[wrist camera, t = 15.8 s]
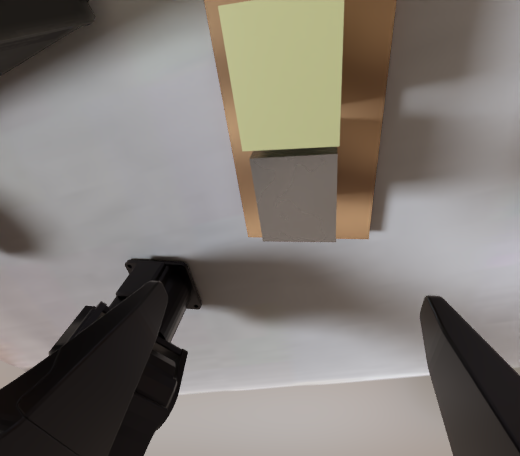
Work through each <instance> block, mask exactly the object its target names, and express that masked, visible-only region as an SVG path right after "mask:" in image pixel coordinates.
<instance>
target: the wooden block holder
mask: <svg viewBox="0 0 520 456" xmlns="http://www.w3.org/2000/svg"><path fill="white" fill-rule="evenodd" d="M245 1H251V0H204V3H205V9H206V14H207V19H208V25H209V30H210V35H211V41H212V46H213V51H214V56H215V62H216V67H217V72H218V78H219V83H220V88H221V94H222V99H223V104H224V110H225V115H226V120H227V126H228V131H229V136H230V142H231V147H232V152H233V158H234V163H235V168H236V174H237V179H238V184H239V190H240V195H241V200H242V206H243V211H244V216H245V222H246V227H247V232H248V237H262V232H261V226H260V220H259V214H258V208H257V202H256V196H255V190H254V184H253V178H252V172H251V166H250V160H249V158H250V156H251V154H252V152H253V151H242V146H241V140H240V134H239V128H238V122H237V116H236V110H235V104H234V98H233V93H232V87H231V81H230V75H229V69H228V63H227V57H226V51H225V45H224V39H223V33H222V27H221V21H220V16H219V10H218V6H221V5H227V4H233V3H239V2H245ZM396 1H397V0H344V26H343V56H342V86H341V116H340V146H338V147H337V152H338V159H337V208H336V239H368V238H369V230H370V221H371V213H372V204H373V196H374V187H375V179H376V170H377V162H378V154H379V145H380V137H381V128H382V120H383V111H384V103H385V94H386V86H387V77H388V69H389V60H390V52H391V43H392V35H393V26H394V18H395V9H396Z"/></svg>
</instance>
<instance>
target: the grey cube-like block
mask: <svg viewBox="0 0 520 456" xmlns="http://www.w3.org/2000/svg"><path fill="white" fill-rule="evenodd" d="M337 159H338V152H337V147H318V148H299V149H280V150H260V151H253V152H252V154H251V156H250V158H249V160H250V166H251V172H252V178H253V184H254V190H255V196H256V202H257V208H258V214H259V220H260V226H261V232H262V238H263V241H284V242H336V208H337Z"/></svg>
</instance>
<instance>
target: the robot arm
mask: <svg viewBox="0 0 520 456" xmlns="http://www.w3.org/2000/svg"><path fill="white" fill-rule="evenodd" d="M125 267H126V268H127V270H128V272H129V276H128V277H127V278H126V280H125V281H124V283H123V284H122V285H121V287H120V288H119V290H118V291H117V292H116V298H115V299H114V301H113V302H112V303H111V305H110V306H109V307H108V306H106V305H107V304H105V303H103V302H100V303H99V304H98V306H97V307H95V306H85V307H84V308H83V310H82V311H81V312H80V314H79V315H78V316H77V317H76V319H75V320H74V321H73V322H72V324H71V325H70V326H69V327H68V329H67V330H66V331H65V332H64V334H63V335H62V336H61V337H60V339H59V340H58V341H57V343H56V344H55V345H54V346H53V348H52V349H51V350H50V351H49V356H48V357H47V358H45V359H44V360H43V361H41V362H40V363H38V364H37V365H36V366H34V367H33V368H32V369H30V370H29V371H27V372H26V373H24V374H23V375H21V376H20V377H18V378H17V379H16V380H14V381H13V382H11V383H9V384H8V385H6V386H5V387H3V388H2V389H0V456H144V454H145V451H146V449H147V447H148V445H149V442H150V440H151V438H152V436H153V434H154V432H155V431H156V430H158V429H159V428H160V427H161V426H162V424H163V423H164V422H165V420H166V419H167V417H168V416H169V414H170V412H171V411H172V409H173V407H174V404H175V402H176V399H177V397H178V393H179V389H180V385H181V380H182V376H183V371H184V367H185V362H186V358H187V354H188V351H186V350H184V349H180V348H179V347H177V346H175V345H173V344H172V343H171V340H172V338H173V336H174V334H175V332H176V330H177V327H178V325H179V323H180V321H181V319H182V317H183V314H184V312H185V310H186V309H200V308H201V305H202V303H201V300H200V298H199V295H198V292H197V290H196V287H195V284H194V281H193V279H192V276H191V273H190V271H189V268H188V265H187V264H186V263H184V262H175V261H148V260H128V261H127V262H126V263H125ZM420 321H421V327H422V334H423V340H424V346H425V352H426V358H427V364H428V369H429V372H430V376H431V380H432V383H433V387H434V390H435V394H436V397H437V400H438V404H439V408H440V411H441V415H442V418H443V422H444V425H445V428H446V432H447V435H448V439H449V442H450V446H451V449H452V452H453V456H520V376H519V375H518V373H517V372H516V371H515V370H514V369H513V368H512V367H511V366H510V365H509V364H508V363H507V362H506V361H505V360H504V359H503V358H502V357H501V356H500V355H499V354H498V353H497V352H496V351H495V350H494V349H493V348H492V347H491V346H490V345H489V344H488V343H487V342H486V341H485V340H484V339H483V338H482V337H481V336H480V335H479V334H478V333H477V332H476V331H475V330H474V329H473V328H472V327H471V326H470V325H469V324H468V323H467V322H466V321H465V320H464V319H463V318H462V317H461V316H460V315H459V314H458V313H457V312H456V311H455V310H454V309H453V308H452V307H451V306H450V305H449V304H448V303H447V302H446V301H445V300H444V299H443V298H442V297H440V296H426V297H425V299H424V302H423V305H422V308H421V311H420Z"/></svg>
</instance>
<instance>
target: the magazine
mask: <svg viewBox="0 0 520 456" xmlns="http://www.w3.org/2000/svg"><path fill="white" fill-rule="evenodd" d="M88 1H89V0H0V75H2V74H4V73H5V72H7V71H9V70H10V69H12V68H14V67H15V66H17V65H19V64H20V63H22V62H24V61H25V60H27V59H28V58H30V57H32V56H33V55H35V54H36V53H38V52H40V51H41V50H43V49H45V48H46V47H48V46H49V45H51V44H53V43H54V42H56V41H57V40H59V39H61V38H62V37H64V36H65V35H67V34H69V33H70V32H72V31H73V30H75V29H77V28H78V27H80V26H84V25H89V24H91V23H92V22H93V21H94V19H95V15H94V14H93V12H92V10H91V8H90V6H89V4H88V3H87V2H88Z"/></svg>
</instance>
